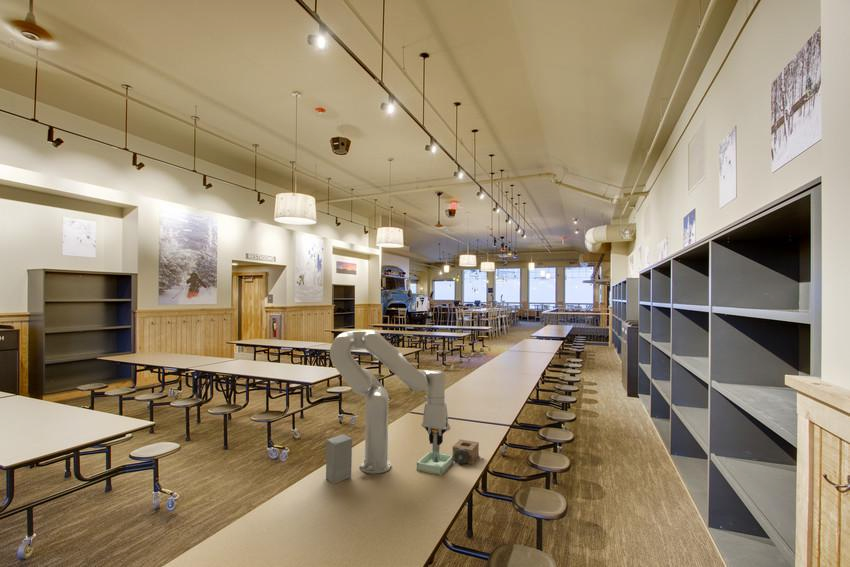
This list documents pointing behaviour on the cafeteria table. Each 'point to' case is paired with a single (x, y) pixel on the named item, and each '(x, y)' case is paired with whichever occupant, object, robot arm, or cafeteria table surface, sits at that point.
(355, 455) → the cafeteria table surface
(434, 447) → the lock pin
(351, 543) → the cafeteria table surface
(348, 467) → the skincare box
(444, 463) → the tray
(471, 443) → the block
